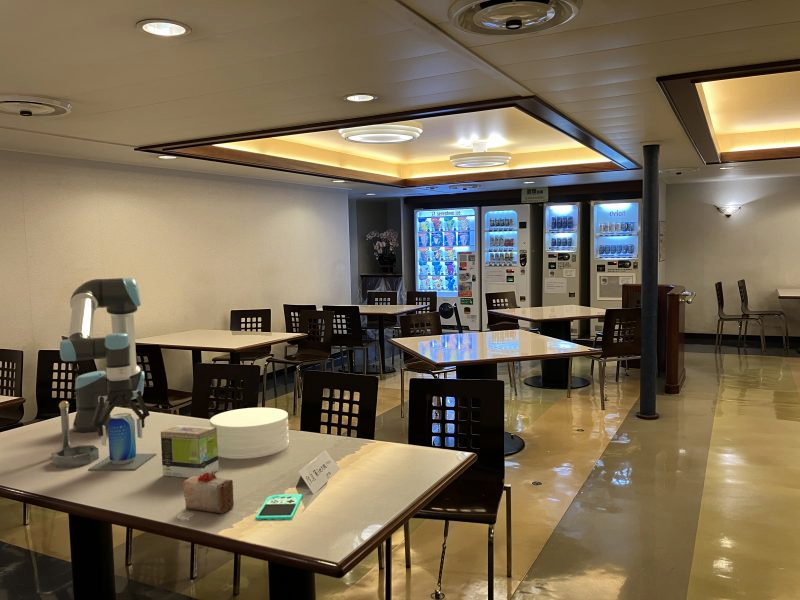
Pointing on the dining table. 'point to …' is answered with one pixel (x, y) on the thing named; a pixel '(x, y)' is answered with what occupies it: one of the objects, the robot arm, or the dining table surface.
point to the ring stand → (72, 454)
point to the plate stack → (251, 432)
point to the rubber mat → (133, 465)
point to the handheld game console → (279, 507)
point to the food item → (208, 493)
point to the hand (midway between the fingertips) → (122, 441)
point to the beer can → (121, 438)
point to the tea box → (189, 450)
